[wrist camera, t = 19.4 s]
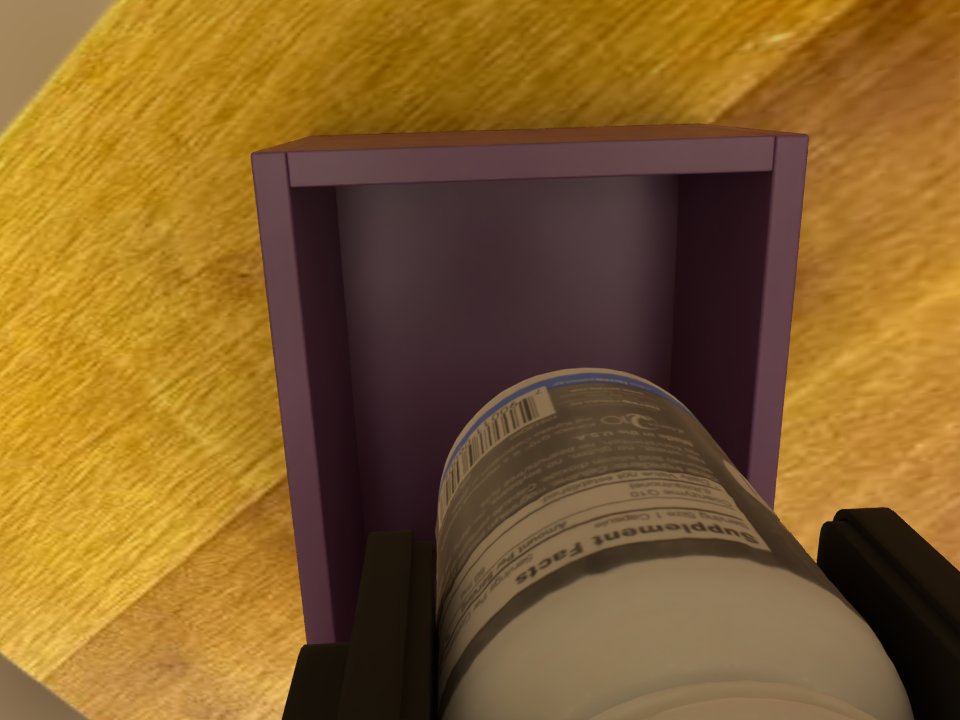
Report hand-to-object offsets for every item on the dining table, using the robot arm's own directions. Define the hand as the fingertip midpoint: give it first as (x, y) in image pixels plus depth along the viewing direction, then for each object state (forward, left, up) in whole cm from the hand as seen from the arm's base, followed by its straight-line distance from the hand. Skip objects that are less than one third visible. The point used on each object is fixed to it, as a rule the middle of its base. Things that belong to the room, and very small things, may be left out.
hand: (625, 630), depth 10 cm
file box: (+2, 0, -18) cm, 19 cm away
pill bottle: (0, 0, -4) cm, 4 cm away
